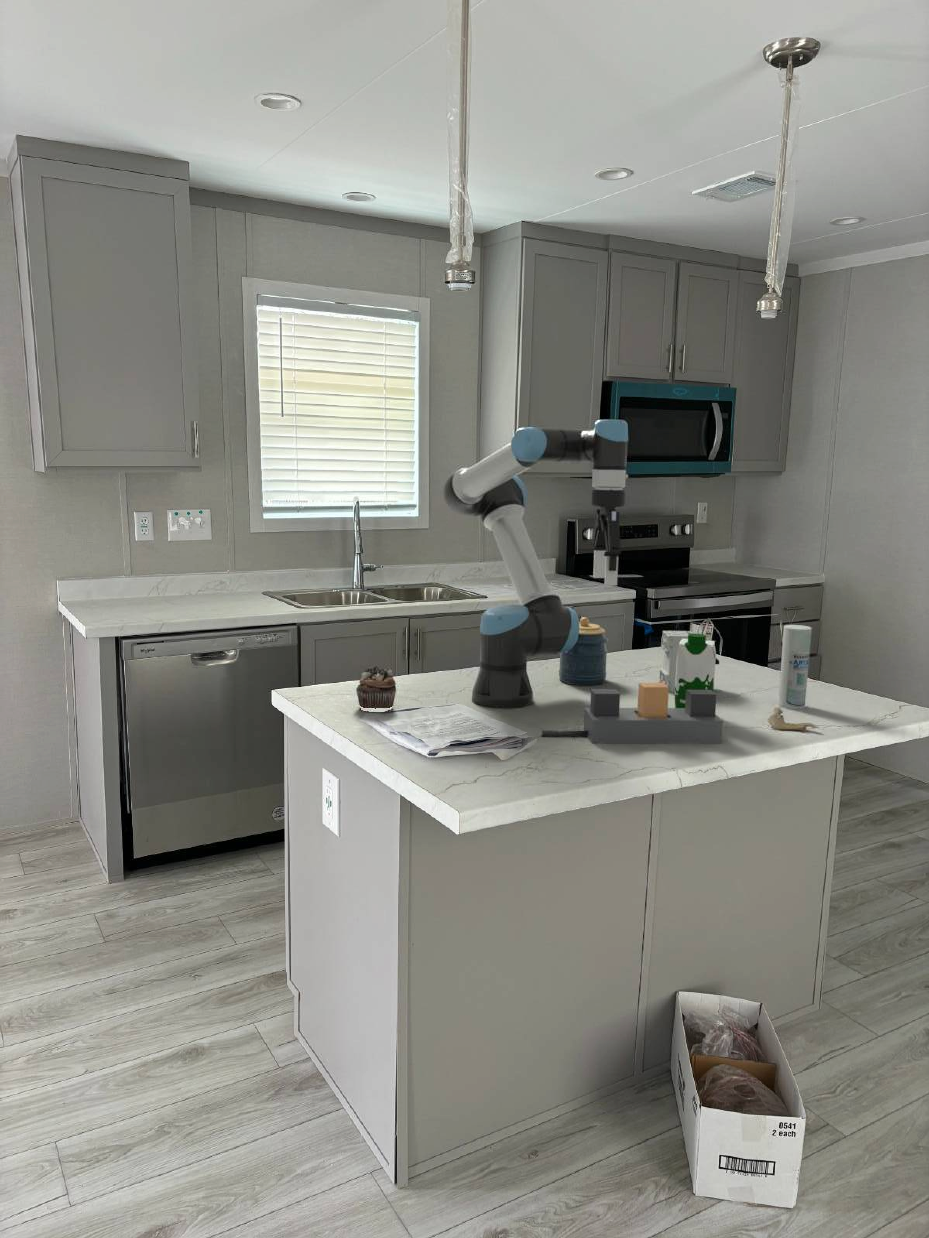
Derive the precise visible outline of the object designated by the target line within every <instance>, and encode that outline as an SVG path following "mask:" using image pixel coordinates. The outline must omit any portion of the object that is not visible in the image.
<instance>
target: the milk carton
mask: <svg viewBox="0 0 929 1238" xmlns="http://www.w3.org/2000/svg"><path fill="white" fill-rule="evenodd" d="M715 642H716V640H707V636H706V635H705V634H703V633H695V634H688V639H682V640H681V641H680V643H679V646H678V651H677V662H676V678H675V692H674V706H675V707H674V708H685V699H686V690H712V691H713V692H714V690H715V689H714V688H715V674H716V672H715V671H716V664H715V659H716V658H717V651H716V645H715ZM714 693H715V692H714Z"/></svg>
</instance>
